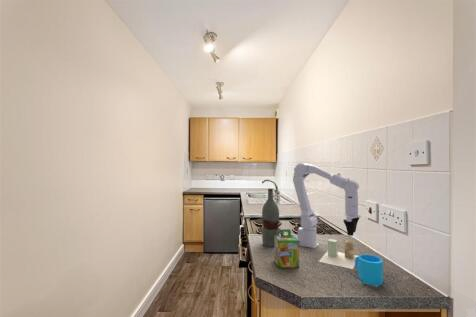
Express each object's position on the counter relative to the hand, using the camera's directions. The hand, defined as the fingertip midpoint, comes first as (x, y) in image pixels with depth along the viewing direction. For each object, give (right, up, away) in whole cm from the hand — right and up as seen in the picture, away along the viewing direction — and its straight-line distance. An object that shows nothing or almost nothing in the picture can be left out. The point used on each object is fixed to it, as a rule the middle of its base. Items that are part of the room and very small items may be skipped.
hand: (351, 233), depth 119 cm
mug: (-5, -10, -24) cm, 27 cm away
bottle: (-37, -10, +14) cm, 41 cm away
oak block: (-3, -9, -5) cm, 11 cm away
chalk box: (-34, -10, -11) cm, 37 cm away
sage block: (-10, -9, -3) cm, 14 cm away
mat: (-9, -10, -7) cm, 15 cm away
